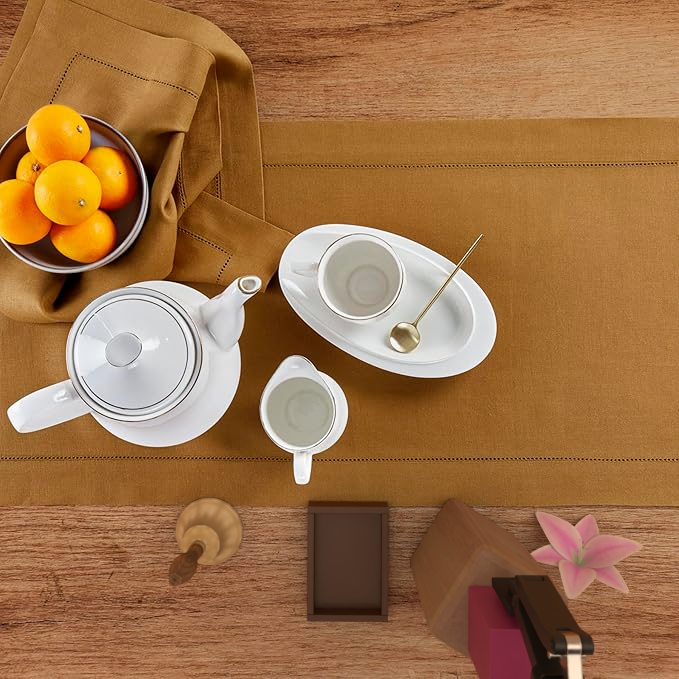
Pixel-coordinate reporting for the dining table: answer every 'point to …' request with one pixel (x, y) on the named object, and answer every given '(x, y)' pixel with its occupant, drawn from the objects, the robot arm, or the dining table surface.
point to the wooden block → (464, 568)
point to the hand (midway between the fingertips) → (507, 628)
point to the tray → (347, 561)
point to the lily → (583, 553)
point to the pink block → (495, 637)
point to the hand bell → (204, 537)
